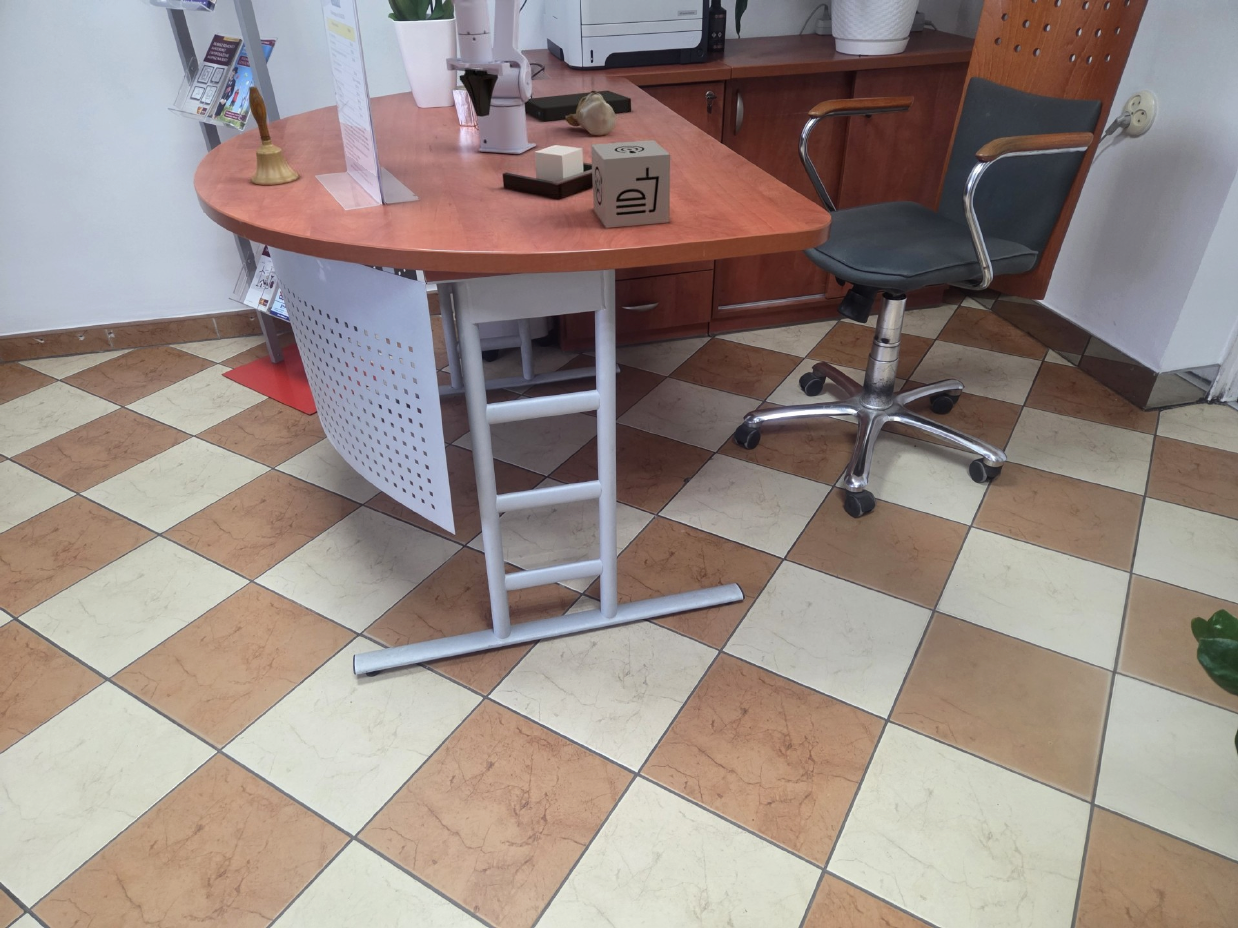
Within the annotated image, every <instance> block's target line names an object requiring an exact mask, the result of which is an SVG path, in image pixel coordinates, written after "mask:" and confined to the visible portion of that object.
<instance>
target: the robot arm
mask: <svg viewBox="0 0 1238 928" xmlns="http://www.w3.org/2000/svg"><path fill="white" fill-rule="evenodd" d="M450 1H451V4H453V6H454V7H453V8H454V14H455V22H456V30H457V31H456V32H457V39H458V47H459V49H458V50H459V56H460V57H449V58H446V59H445V61H446V70H447V71H459V72H464V73H463V74H461V75H459V81H460V82H461V84H462V85H463V86H464V88H465V90H466V92H467V94H468V96H469V99H470V101H471V104H472V107H473V109H474V112H475V115H476V117H477V127H478V138H479V145H480V148H478V152H485V153H496V154H497V153H500V154H513V155H520V154H522V153H525V152H526V151H528V150H530V149H532V148H534V147H536V146H537V144H536V143H535V142H529V141H528V140H529V139H528V129H527V116H526V114H527V113H525V102H526V101H528V100H529V99H530V98H531V96H532V92H533V82H532V67H531V65H530V62H529V60H528V58H527V57H526V56H525V55H524V54H522V52H520V51H519V34H520V33H519V31H520V13H521V12H520V10H521V9H520V8H521V0H494V20H493V21H494V22H493V23H494V25H493V43H492V37H491V36H492V35H491V25H490V16H489V15H490V14H489V7H488V6H489V5H488V0H450ZM492 44H493V45H492Z"/></svg>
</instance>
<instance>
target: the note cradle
mask: <svg viewBox="0 0 1238 928" xmlns="http://www.w3.org/2000/svg"><path fill="white" fill-rule="evenodd" d="M502 184H503V189H507V190H512V191H516V192H521V193H526V194H529V195H535V196H539V197H544V198H549V199H553V200H561V199H564V198H567V197H570V196H573V195H576V194H578V193H581V192H584V191H587V190H589V189H593V179H592V163H588V162H583V172H582V173H579V174H576V175H573V176H570V177H567V178H564V179H561V180H558V181H555V182H552V181H547V180H542V179H537V178H536V177H532V176H526V175H522V174H521V175H520V174H516V173H510V172H503V173H502Z"/></svg>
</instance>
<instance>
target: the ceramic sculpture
mask: <svg viewBox="0 0 1238 928" xmlns="http://www.w3.org/2000/svg"><path fill="white" fill-rule="evenodd" d="M589 92H590V94H589V95H588V96H586V97H583V98H582V99H581V100H580V101H579V104H578V107H577V110H576V114H570V115H568V116H565V119H564V120H565V122H566V123H567V124H568V125H570V126H572V127H581V128H583V129H584V130H586V131H587V132H588V133H589V134H590V135H592V136H593V135H594V136H598V137H599V136H604V135H607V134H610V133H611V132H612V131H613V129H614V127H615V125H616V120H617V113H614V111H613V109H612V108H611V107H610V105H609V104H607V103H606V102H605V101H604V99H603V97H602V96H601V95H600V94H599V93H597V92H598V91H597V90H591V91H589Z"/></svg>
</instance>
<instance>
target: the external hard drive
mask: <svg viewBox="0 0 1238 928" xmlns="http://www.w3.org/2000/svg"><path fill="white" fill-rule="evenodd" d="M590 92H591V91H589V92H580V93H570V94H569V93H568V94H560V95H550V96H541V97H532V98H531V97H530V98H529V100H528V101H526V102H525V114H527V115H528V116H531V117H532V118H534V119H537V120H539V121H541V122H544V123H545V122H552V121H561V120H565V116H568V115H570V114H576V110H577V107H578V104H579V101H580V100H581V99H582V98H583V97H586V96H588V95H589V94H590ZM596 92H597V93H599V94H600V95H601V96H602V97H603V99H604V101H605V102H606V103H607V104H609V105H610V107H611V108H612V109H613V111H614V113H615V114H621V113H629V112H630V113H631V112H632V98H630V97H628V96H625V95H622V94H620V93H616V92H613V91H610V90H599V91H596Z"/></svg>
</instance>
